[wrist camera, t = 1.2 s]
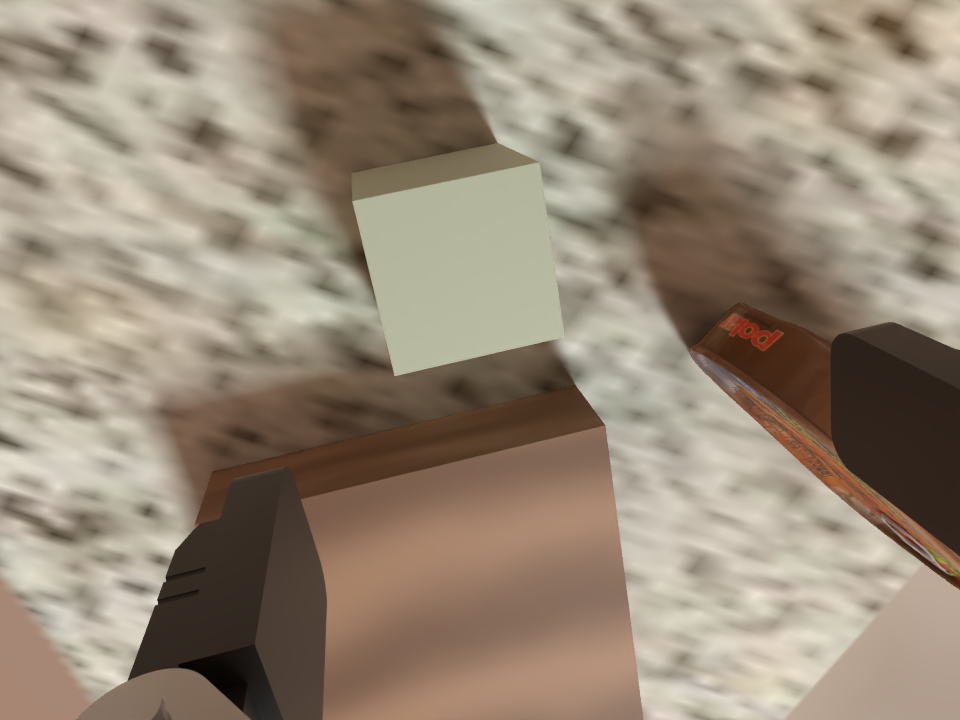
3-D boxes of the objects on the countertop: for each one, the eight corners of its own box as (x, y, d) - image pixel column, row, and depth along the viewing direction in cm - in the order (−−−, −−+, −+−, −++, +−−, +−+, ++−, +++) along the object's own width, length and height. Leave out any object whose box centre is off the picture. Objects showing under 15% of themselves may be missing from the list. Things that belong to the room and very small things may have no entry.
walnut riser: (214, 466, 28) (194, 524, 24) (572, 381, 29) (605, 425, 26) (311, 734, 33) (307, 816, 30) (612, 653, 35) (643, 722, 31)
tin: (653, 325, 29) (767, 418, 21) (712, 263, 28) (852, 335, 20) (868, 525, 34) (1023, 659, 26) (921, 476, 33) (1095, 597, 26)
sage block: (351, 172, 25) (352, 201, 19) (497, 142, 25) (539, 162, 20) (384, 313, 27) (394, 376, 21) (520, 283, 27) (564, 337, 22)
